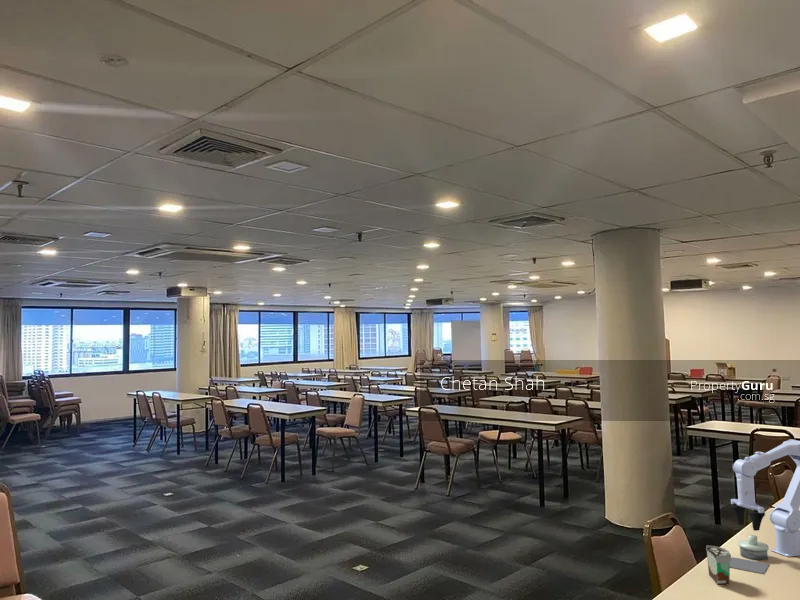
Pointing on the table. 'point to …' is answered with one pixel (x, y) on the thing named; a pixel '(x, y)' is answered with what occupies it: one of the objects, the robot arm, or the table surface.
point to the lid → (753, 544)
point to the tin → (753, 554)
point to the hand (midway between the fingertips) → (748, 527)
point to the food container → (718, 564)
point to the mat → (748, 565)
